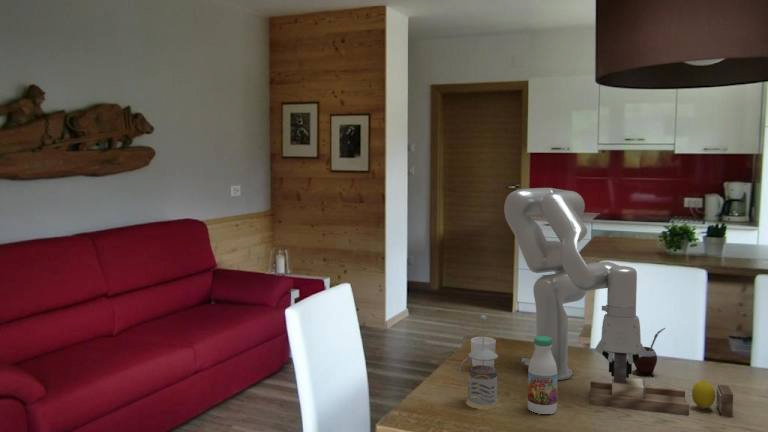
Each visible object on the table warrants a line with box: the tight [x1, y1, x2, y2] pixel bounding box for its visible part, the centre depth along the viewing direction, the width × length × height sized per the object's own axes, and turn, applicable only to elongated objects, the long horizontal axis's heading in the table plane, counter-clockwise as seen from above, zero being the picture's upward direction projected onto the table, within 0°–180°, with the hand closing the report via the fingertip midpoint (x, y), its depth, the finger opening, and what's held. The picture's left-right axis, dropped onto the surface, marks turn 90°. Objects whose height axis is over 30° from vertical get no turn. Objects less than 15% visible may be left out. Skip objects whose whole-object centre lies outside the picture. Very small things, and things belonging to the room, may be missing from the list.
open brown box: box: [715, 384, 734, 418], centre depth 172 cm, size 3×7×6 cm, turn 161°
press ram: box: [611, 353, 647, 399], centre depth 179 cm, size 9×7×12 cm
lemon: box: [691, 379, 716, 410], centre depth 174 cm, size 6×6×8 cm
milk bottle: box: [527, 336, 558, 415], centre depth 174 cm, size 8×8×20 cm
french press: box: [458, 314, 499, 405], centre depth 179 cm, size 10×12×25 cm
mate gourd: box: [633, 327, 666, 378], centre depth 202 cm, size 8×8×15 cm
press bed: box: [589, 380, 690, 416], centre depth 179 cm, size 25×11×3 cm, turn 71°
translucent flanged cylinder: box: [470, 336, 497, 368], centre depth 207 cm, size 8×8×10 cm
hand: (620, 375), depth 180 cm, fingers closed on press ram, 3 cm apart
